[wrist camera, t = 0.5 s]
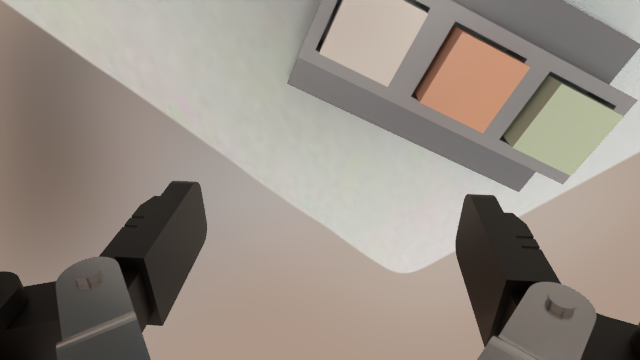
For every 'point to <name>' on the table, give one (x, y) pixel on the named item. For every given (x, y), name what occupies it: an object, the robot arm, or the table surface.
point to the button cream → (373, 36)
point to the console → (498, 30)
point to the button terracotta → (469, 79)
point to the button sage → (561, 125)
